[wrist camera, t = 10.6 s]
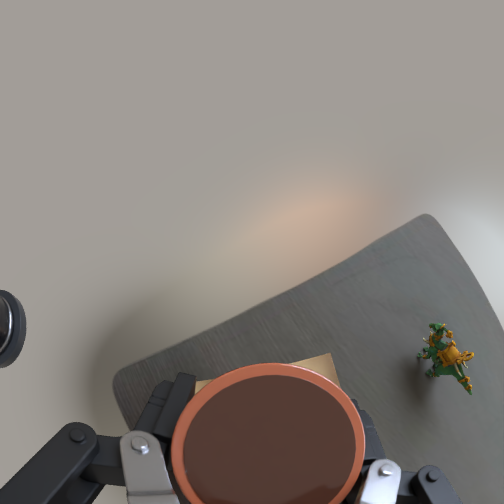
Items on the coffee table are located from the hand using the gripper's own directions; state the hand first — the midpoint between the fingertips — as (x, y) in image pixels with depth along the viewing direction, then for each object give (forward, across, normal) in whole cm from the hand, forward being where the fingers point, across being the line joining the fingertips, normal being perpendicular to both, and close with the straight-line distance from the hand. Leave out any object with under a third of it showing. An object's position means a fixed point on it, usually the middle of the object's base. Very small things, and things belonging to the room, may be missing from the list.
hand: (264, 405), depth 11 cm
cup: (+2, 0, +4) cm, 5 cm away
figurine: (+18, -25, +9) cm, 32 cm away
